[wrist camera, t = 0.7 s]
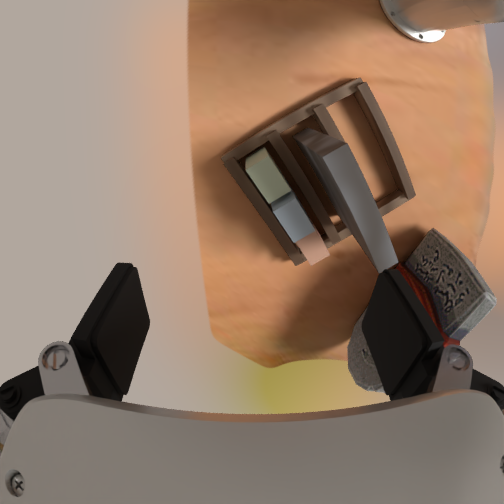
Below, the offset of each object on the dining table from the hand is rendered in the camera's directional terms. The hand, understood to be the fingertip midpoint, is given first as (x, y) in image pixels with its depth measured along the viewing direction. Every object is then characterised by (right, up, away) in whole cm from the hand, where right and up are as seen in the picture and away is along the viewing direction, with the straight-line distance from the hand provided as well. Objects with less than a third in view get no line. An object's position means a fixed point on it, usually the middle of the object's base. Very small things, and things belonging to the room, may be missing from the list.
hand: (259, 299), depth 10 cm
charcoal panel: (+10, +13, +28) cm, 32 cm away
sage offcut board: (+1, +14, +27) cm, 30 cm away
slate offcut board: (+5, +10, +29) cm, 31 cm away
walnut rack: (+10, +13, +28) cm, 32 cm away
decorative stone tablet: (+26, -5, +39) cm, 47 cm away
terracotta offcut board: (+8, +6, +32) cm, 33 cm away
